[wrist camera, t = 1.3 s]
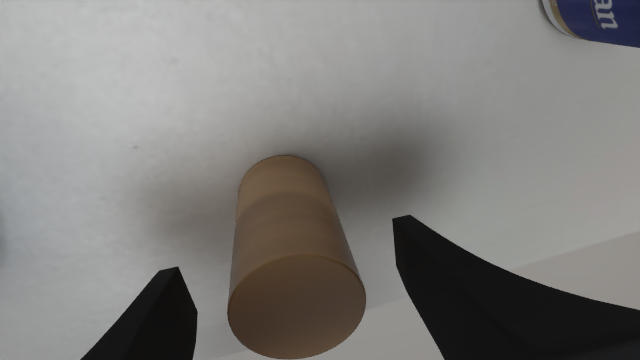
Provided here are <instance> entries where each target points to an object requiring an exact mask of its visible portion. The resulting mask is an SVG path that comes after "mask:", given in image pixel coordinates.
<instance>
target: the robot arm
mask: <svg viewBox="0 0 640 360" xmlns="http://www.w3.org/2000/svg"><path fill="white" fill-rule="evenodd" d="M392 221H393V233H394V245H395V257H396V266H397V269H398V271H399V274H400V276H401V279H402V281H403V284H404V286H405V289H406V291H407V293H408V295H409V297H410V298H411V300H412V302H413V304H414V305H415V307H416V309H417V311H418V312H419V314H420V316H421V318H422V319H423V321H424V323H425V325H426V327H427V328H428V330H429V332H430V334H431V336H432V337H433V339H434V341H435V343H436V344H437V346H438V348H439V350H440V352H441V354H442V356H443V357H444V359H445V360H640V310H636V309H632V308H627V307H623V306H619V305H614V304H610V303H605V302H601V301H596V300H593V299H589V298H585V297H581V296H578V295H575V294H571V293H568V292H564V291H561V290H558V289H555V288H552V287H548V286H546V285H543V284H540V283H537V282H535V281H532V280H529V279H526V278H524V277H521V276H519V275H516V274H514V273H511V272H509V271H507V270H505V269H502V268H500V267H498V266H496V265H493V264H491V263H489V262H487V261H485V260H483V259H481V258H479V257H477V256H475V255H474V254H472V253H470V252H468V251H466V250H464V249H463V248H461V247H459V246H457V245H456V244H454V243H452V242H451V241H449V240H448V239H446V238H444V237H443V236H441V235H440V234H438V233H436V232H435V231H433V230H432V229H430V228H429V227H427V226H426V225H424V224H423V223H421V222H420V221H418V220H417V219H416V218H414V217H412V216H411V215H406V216H402V217H397V218H393V219H392ZM197 314H198V312H197V309H196V307H195V305H194V302H193V300H192V298H191V295H190V293H189V291H188V288H187V286H186V284H185V281H184V279H183V277H182V274H181V272H180V270H179V267H173V268H169V269H165V270H160V271H159V272H158V273H157V274H156V275H155V276H154V277H153V278H152V279H151V281H150V282H149V283H148V284H147V285H146V287H145V288H144V289H143V290H142V292H141V293H140V294H139V295H138V296H137V298H136V299H135V300H134V301H133V302H132V304H131V305H130V306H129V307H128V308H127V309H126V311H125V312H124V313H123V314H122V315H121V317H120V318H119V319H118V320H117V321H116V322H115V323H114V324H113V326H112V327H111V328H110V329H109V330H108V331H107V332H106V333H105V334H104V335H103V337H102V338H101V339H100V340H99V341H98V342H97V343H96V344H95V345H94V346H93V347H92V348H91V349H90V350H89V352H88V353H87V354H86V355H85V356H84V357H83V358H82V359H81V360H192V359H193V354H194V349H195V343H196V333H197Z"/></svg>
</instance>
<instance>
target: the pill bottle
mask: <svg viewBox="0 0 640 360" xmlns="http://www.w3.org/2000/svg"><path fill="white" fill-rule="evenodd" d="M542 1H543V5H544V8H545V11H546V14H547V15H548V17H549V19H550V21H551V22H552V23H553V25H554V26H555V27H556V28H558V29H559V30H560V31H561V32H563V33H565V34H567V35H569V36H571V37H574V38H578V39H584V40H588V41H595V42H603V43H610V44H616V45H623V46H630V47H637V48H640V0H542Z"/></svg>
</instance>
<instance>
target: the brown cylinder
mask: <svg viewBox="0 0 640 360" xmlns="http://www.w3.org/2000/svg"><path fill="white" fill-rule="evenodd" d="M365 306H366V293H365V288H364V285H363V283H362V280H361V277H360V275H359V272H358V269H357V266H356V264H355V261H354V258H353V256H352V253H351V250H350V247H349V245H348V242H347V239H346V237H345V234H344V231H343V228H342V226H341V223H340V220H339V218H338V215H337V212H336V209H335V207H334V204H333V201H332V199H331V196H330V193H329V190H328V188H327V185H326V182H325V180H324V178H323V176H322V174H321V173H320V171H319V170H318V169H317V168H316V167H315V166H314V165H312V164H311V163H309V162H308V161H306V160H304V159H301V158H298V157H294V156H286V155H285V156H274V157H270V158H267V159H265V160H262V161H260V162H259V163H257V164H256V165H254V166H253V167H252V168H251V169H250V170H249V171H248V172H247V173H246V174H245V176H244V177H243V179H242V181H241V183H240V186H239V190H238V200H237V211H236V222H235V233H234V244H233V255H232V266H231V277H230V288H229V299H228V310H227V315H228V321H229V325H230V328H231V330H232V332H233V334H234V335H235V336H236V338H237V339H238V340H239V341H240V342H241V343H242V344H243V345H244V346H246V347H247V348H248V349H250V350H252V351H254V352H256V353H258V354H260V355H263V356H267V357H270V358H276V359H301V358H306V357H312V356H315V355H318V354H321V353H323V352H326V351H328V350H330V349H332V348H334V347H336V346H337V345H339V344H340V343H341V342H343V341H344V340H345V339H347V338H348V337H349V336H350V335H351V334H352V333H353V332H354V330H355V329H356V328H357V326H358V324H359V323H360V321H361V319H362V317H363V315H364V311H365Z"/></svg>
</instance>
